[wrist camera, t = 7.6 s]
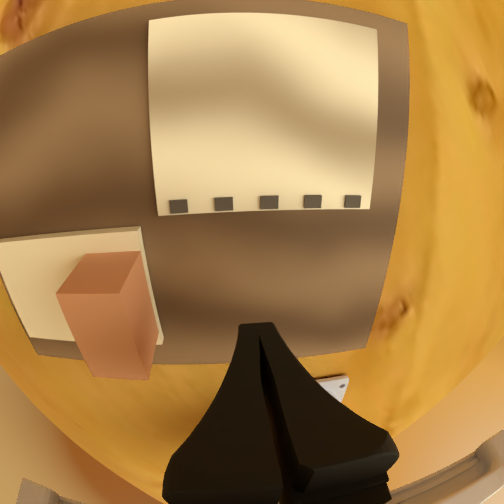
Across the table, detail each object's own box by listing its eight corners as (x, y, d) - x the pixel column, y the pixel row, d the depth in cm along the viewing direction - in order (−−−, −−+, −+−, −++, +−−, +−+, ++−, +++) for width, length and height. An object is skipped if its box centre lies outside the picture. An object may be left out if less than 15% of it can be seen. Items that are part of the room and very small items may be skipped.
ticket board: (359, 336, 20) (367, 352, 18) (43, 344, 18) (35, 358, 16) (395, 27, 11) (411, 22, 9) (-21, 74, 9) (-37, 75, 7)
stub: (163, 337, 16) (153, 392, 13) (33, 331, 16) (8, 372, 12) (140, 225, 13) (113, 270, 10) (-4, 239, 12) (-44, 273, 9)
